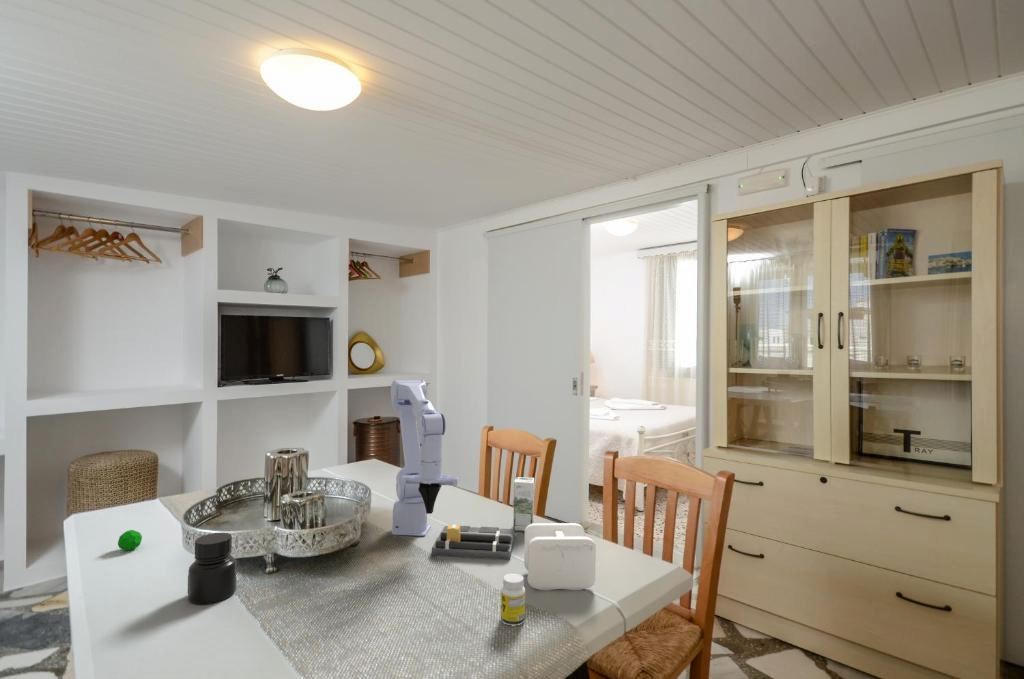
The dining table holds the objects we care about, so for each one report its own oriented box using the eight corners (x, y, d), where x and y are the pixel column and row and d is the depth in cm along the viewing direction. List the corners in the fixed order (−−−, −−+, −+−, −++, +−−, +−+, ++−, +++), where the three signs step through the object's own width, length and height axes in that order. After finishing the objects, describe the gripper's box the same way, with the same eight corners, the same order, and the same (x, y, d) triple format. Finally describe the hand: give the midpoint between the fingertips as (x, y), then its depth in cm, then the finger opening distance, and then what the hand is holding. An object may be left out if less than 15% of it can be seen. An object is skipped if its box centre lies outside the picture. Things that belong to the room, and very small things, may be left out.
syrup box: (533, 525, 156) (534, 476, 156) (532, 532, 150) (533, 482, 150) (514, 524, 156) (515, 476, 156) (512, 531, 151) (513, 481, 151)
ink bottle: (227, 581, 117) (228, 527, 117) (245, 593, 112) (246, 537, 112) (178, 596, 110) (180, 539, 110) (195, 611, 104) (196, 550, 104)
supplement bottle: (499, 614, 104) (500, 572, 105) (523, 614, 105) (524, 571, 105) (501, 627, 100) (502, 583, 100) (526, 627, 100) (526, 582, 100)
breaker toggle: (446, 544, 134) (447, 528, 134) (449, 540, 137) (449, 523, 137) (458, 544, 134) (458, 528, 134) (460, 540, 137) (460, 524, 137)
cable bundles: (435, 548, 132) (435, 541, 132) (443, 535, 142) (443, 528, 142) (509, 552, 130) (509, 545, 130) (512, 538, 140) (512, 531, 140)
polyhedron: (113, 551, 132) (114, 532, 133) (135, 544, 137) (135, 526, 137) (124, 555, 130) (124, 535, 130) (145, 548, 134) (146, 529, 135)
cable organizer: (586, 571, 125) (587, 522, 125) (595, 592, 115) (596, 539, 115) (523, 571, 124) (524, 522, 124) (527, 593, 114) (528, 539, 114)
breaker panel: (431, 555, 133) (431, 544, 133) (444, 533, 149) (445, 523, 149) (510, 559, 131) (510, 548, 131) (515, 536, 147) (515, 526, 147)
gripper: (398, 462, 133) (397, 516, 133) (455, 464, 132) (454, 518, 132) (406, 456, 140) (405, 507, 140) (460, 458, 139) (459, 509, 139)
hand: (429, 512), depth 136 cm, fingers closed
